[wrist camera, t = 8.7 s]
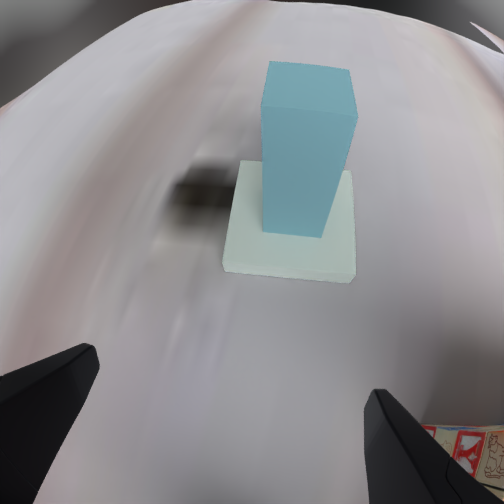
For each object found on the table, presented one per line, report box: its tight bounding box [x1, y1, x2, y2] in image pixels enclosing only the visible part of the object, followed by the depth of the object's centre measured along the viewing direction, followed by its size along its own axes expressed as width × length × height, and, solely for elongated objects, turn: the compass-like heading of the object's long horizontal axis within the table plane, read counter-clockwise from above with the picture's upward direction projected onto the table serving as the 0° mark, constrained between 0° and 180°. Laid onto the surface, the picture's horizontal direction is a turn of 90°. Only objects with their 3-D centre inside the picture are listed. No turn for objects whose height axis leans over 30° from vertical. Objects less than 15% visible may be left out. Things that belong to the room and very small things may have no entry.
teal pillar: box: [261, 61, 358, 238], centre depth 19 cm, size 4×4×12 cm
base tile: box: [222, 160, 356, 283], centre depth 25 cm, size 10×10×2 cm
